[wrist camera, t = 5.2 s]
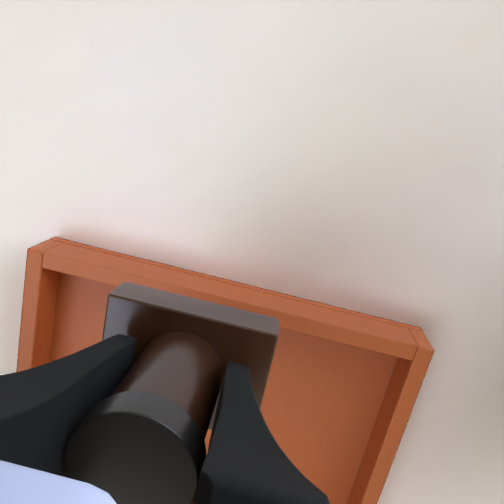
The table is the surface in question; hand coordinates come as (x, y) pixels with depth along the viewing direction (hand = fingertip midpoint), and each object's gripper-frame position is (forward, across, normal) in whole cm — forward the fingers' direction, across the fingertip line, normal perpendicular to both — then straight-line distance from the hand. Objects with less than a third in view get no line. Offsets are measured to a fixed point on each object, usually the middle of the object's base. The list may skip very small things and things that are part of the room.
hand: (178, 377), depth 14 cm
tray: (+10, 0, +7) cm, 12 cm away
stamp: (+2, 0, 0) cm, 2 cm away
